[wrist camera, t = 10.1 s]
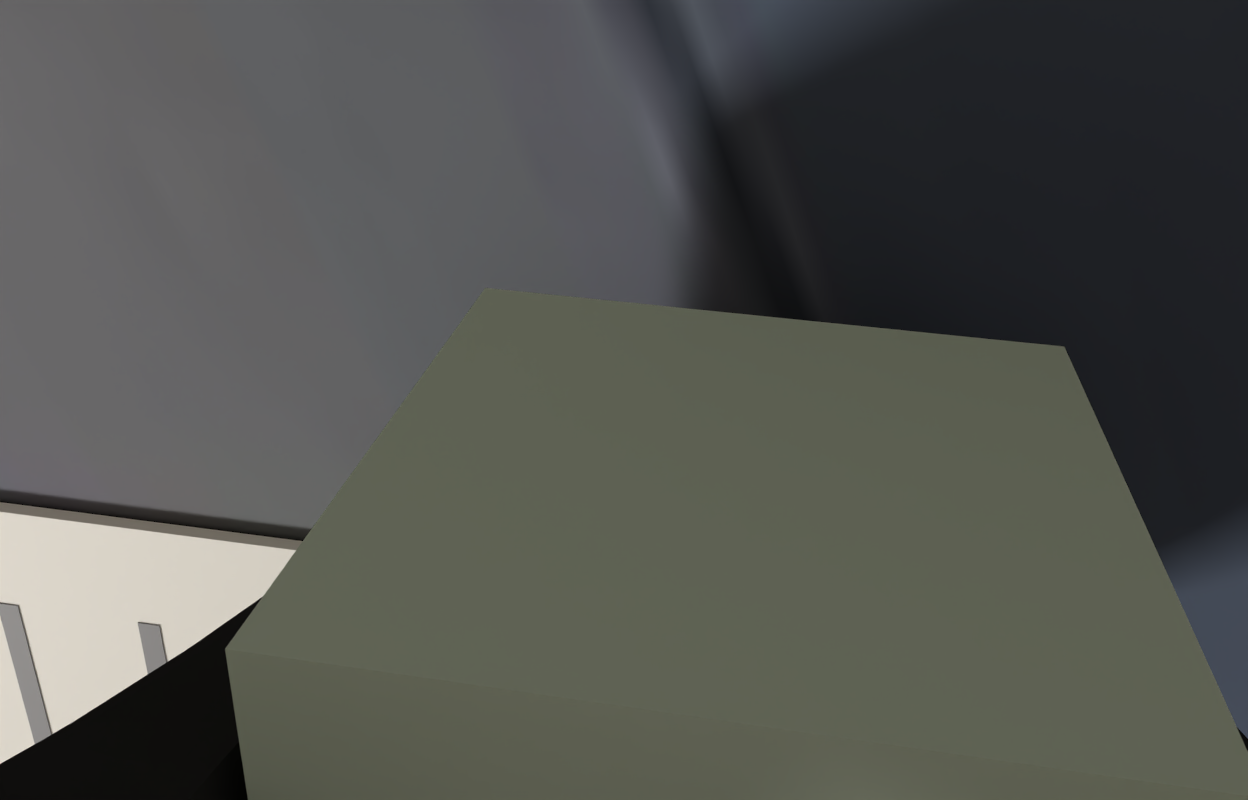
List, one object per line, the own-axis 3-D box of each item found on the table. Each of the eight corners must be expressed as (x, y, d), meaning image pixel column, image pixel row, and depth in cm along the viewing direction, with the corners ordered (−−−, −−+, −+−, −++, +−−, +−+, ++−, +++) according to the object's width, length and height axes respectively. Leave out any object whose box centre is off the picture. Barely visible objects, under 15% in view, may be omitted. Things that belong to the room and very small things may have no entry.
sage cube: (1064, 347, 10) (1268, 799, 5) (957, 781, 12) (1035, 1348, 7) (486, 287, 10) (225, 647, 6) (491, 713, 12) (309, 1201, 8)
